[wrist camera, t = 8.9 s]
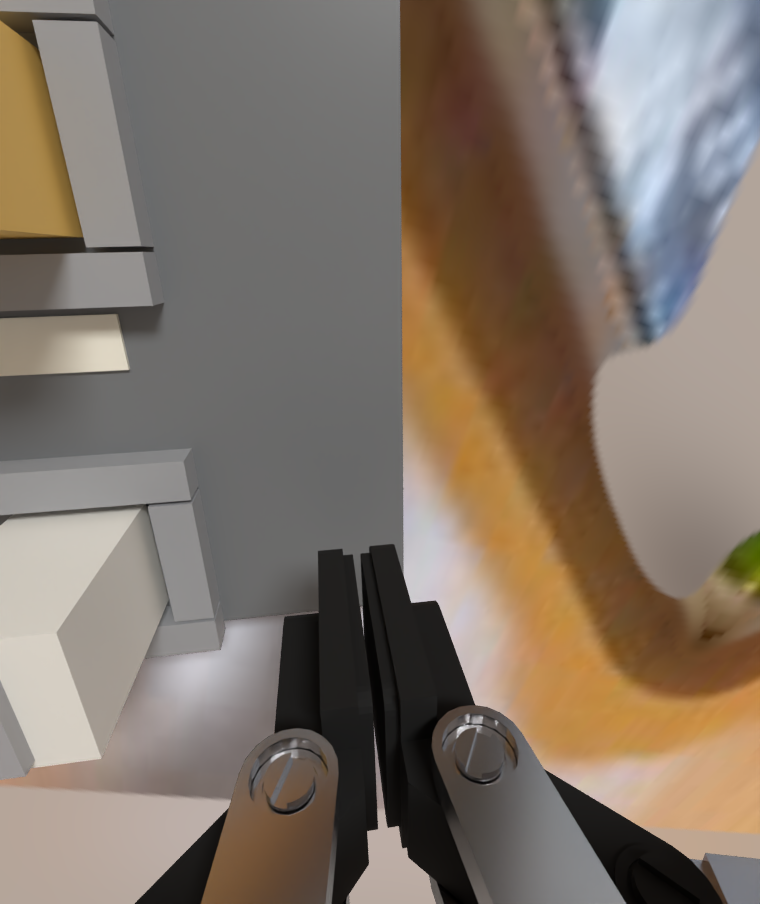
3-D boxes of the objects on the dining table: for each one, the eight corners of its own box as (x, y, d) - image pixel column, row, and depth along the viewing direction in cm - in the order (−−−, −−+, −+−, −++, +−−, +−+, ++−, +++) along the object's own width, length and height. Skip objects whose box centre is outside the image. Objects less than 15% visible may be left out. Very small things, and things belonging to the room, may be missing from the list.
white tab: (16, 512, 12) (-169, 669, 7) (145, 502, 12) (47, 646, 7) (51, 611, 13) (-89, 799, 8) (169, 599, 13) (94, 774, 9)
